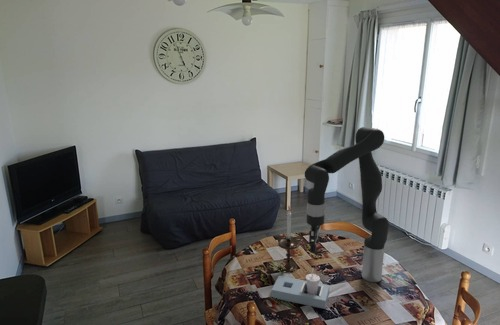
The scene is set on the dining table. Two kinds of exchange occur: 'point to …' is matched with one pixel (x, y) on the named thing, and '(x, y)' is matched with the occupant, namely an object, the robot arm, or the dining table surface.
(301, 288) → the socket block
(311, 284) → the smoothie
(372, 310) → the dining table surface
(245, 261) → the dining table surface
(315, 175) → the robot arm
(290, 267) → the candlestick
